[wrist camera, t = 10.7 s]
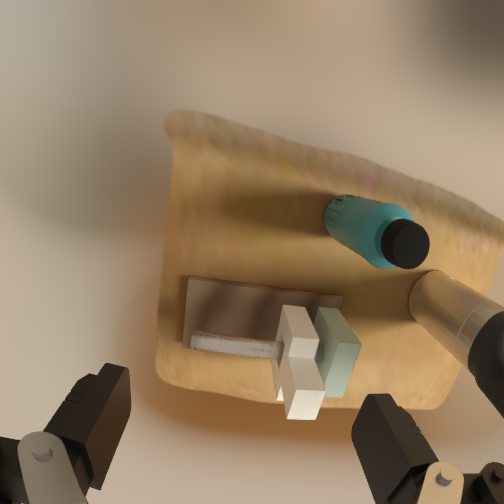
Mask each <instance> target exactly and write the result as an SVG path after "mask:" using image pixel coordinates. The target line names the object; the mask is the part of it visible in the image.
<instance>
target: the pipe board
mask: <svg viewBox="0 0 504 504" xmlns="http://www.w3.org/2000/svg"><path fill="white" fill-rule="evenodd" d="M343 300H344V299H343V298H342V297H341V296H339V295H330V294H322V293H314V292H306V291H298V290H290V289H283V288H275V287H268V286H260V285H253V284H246V283H239V282H232V281H225V280H218V279H211V278H205V277H198V276H192V275H190V276H189V278H188V285H187V296H186V307H185V319H184V331H183V345H182V347H183V348H189V349H191V338H192V332H193V330H197V331H204V332H210V333H217V334H224V335H231V336H239V337H247V338H255V339H263V340H272V341H275V340H276V335H277V331H278V326H279V321H280V317H281V312H282V307H283V305H292V306H300V307H305V308H306V311H307V313H308V315H309V317H310V319H311V322H312V324H313V326H314V322H315V318H316V314H317V310H318V307H327V308H336V309H338V310H339V311H341V307H342V304H343Z"/></svg>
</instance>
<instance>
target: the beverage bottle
mask: <svg viewBox="0 0 504 504" xmlns="http://www.w3.org/2000/svg"><path fill="white" fill-rule="evenodd" d="M323 219H324V223H325V227H326V229H327V231H328V232H329V234H330V235H331V236H332V237H333V238H335V239H336V240H338V241H339V242H341V243H342V244H341V245H343V244H344V245H343V246H347V247H348V248H350V249H351V250H353V251H355V253H357V254H359V255H360V256H362V257H363V258H364V259H366V260H367V261H368V262H369V263H370V264H371V265H373V266H375V267H377V268H380V269H392V268H395V267H400V268H403V269H413V268H416V267H418V266H419V265H420V264H421V263H422V262H423V261H424V260H425V258H426V257H427V255H428V252H429V246H430V242H429V237H428V234H427V232H426V231H425V229H424V228H423V227H422V226H420V225H419V224H417V223H415V222H414V219H413V218H412V216H411V215H410V213H409V212H408V211H407V210H406V209H404V208H403V207H401V206H399V205H396V204H388V203H383V202H379V201H375V200H370V199H365V198H360V197H357V196H356V197H355V196H352V195H351V194H350V195H347V194H346V195H344V194H343V196H340V195H339V197H337V198H335V199H332V200H331V201H330V202H329V205H328V206H327V207H326V211H325V214H324V218H323ZM335 239H334V240H335ZM338 241H337V242H338Z"/></svg>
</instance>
